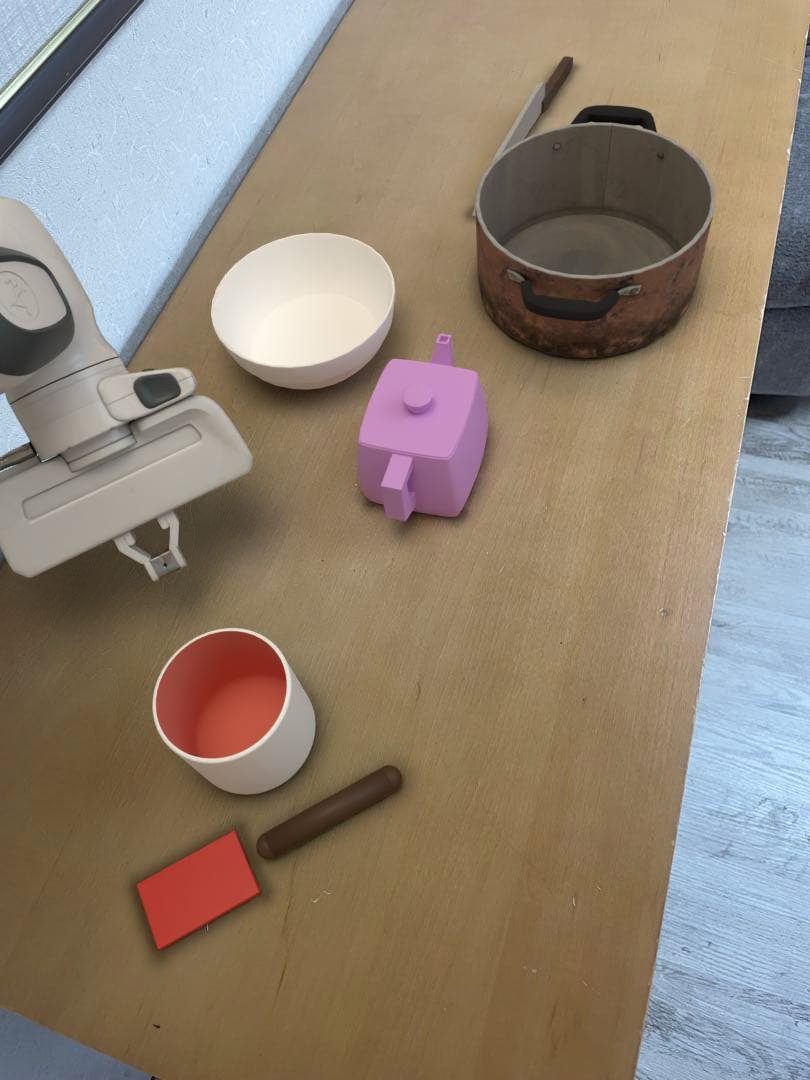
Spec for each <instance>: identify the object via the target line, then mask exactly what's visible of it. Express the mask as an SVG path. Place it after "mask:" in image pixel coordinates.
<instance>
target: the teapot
mask: <svg viewBox="0 0 810 1080" xmlns="http://www.w3.org/2000/svg"><path fill="white" fill-rule="evenodd" d="M452 337H453V336H452V334H445V333H439V334H438V336H437V338H436V341H435V345H434V349H433V353H432V356H431V360H430V362H425V361H418V360H412V359H411V360H410V359H401V358H392V359H391V360H390V361H389V362H388V363H387V364H386V366H385V367H384V369H383V371H382V373H381V375H380V377H379V379H378V381H377V383H376V385H375V387H374V390H373V391H372V394H371V396H370V399H369V402H368V404H367V406H366V407H367V408H366V410H365V413H364V416H363V419H362V422H361V424H360V425H361V426H360V430H359V433H358V441H357V473H358V480H359V486H360V488H361V491H362V493H363V495H364V496H365V497H366V498H367V499H368V501H369V502H372V503H376V504H380V505H383V507H384V513H385V514H384V515H385V518H387V519H393V520H396V521H397V520H398V521H402V522H406V521H407V520H408V518H409V517H410V515H411V514H412V512H416V513H422V514H426V515H433V516H439V517H446V518H456V517H458V515H459V514H460V513H461V512H462V510H463V508H464V507H465V505H466V503H467V501H468V498H469V496H470V495H471V494H470V493H471V491H472V489H473V487H474V484H475V482H476V479H477V477H478V474H479V471H480V468H481V465H482V462H483V457H484V454H485V449H486V443H487V437H488V430H489V414H488V413H489V412H488V405H487V399H486V396H485V395H486V394H485V392H484V389H483V386H482V382H481V380H480V377H479V374H478V372H477V371H476V370H472V369H467V368H462V367H458V366H457V367H456V366H455V365H454V363H455V362H454V351H453V350H454V349H453V338H452Z"/></svg>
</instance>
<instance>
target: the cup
mask: <svg viewBox="0 0 810 1080" xmlns="http://www.w3.org/2000/svg"><path fill="white" fill-rule="evenodd" d="M151 706H152V707H151V709H152V717H153V721H154V724H155V727H156V730H157V732H158V734H159V736H160V738H161V740H162V741H163V743H165V745H166V746H167V747H168V748H169V749H170V750H171V751H173V753H175V754H176V755H177V756H179V757H180V758H181V759H182V760H183V761H184V762H186V763H187V764H188V765H189V766H191V767H192V768H193V769H194V770H195V771H196V772H197V773H198V774H200V775H201V776H202V777H204V779H206V780H207V781H208V782H210V783H211V784H212V785H214V786H215V787H217V788H219V789H220V790H223V791H225V792H229V793H231V794H236V795H256V794H261V793H265V792H268V791H269V792H270V791H271V790H273V789H277V787H279V786H281V785H282V784H285V783H286V782H287V781H289V780H290V779H291V778H292V777H293V776H294V775H296V773H297V772H299V770H300V769H301V768H302V766H303V765H304V764H305V762H306V761H307V759H308V757H309V755H310V752H311V750H312V747H313V745H314V740H315V735H316V715H315V710H314V707H313V704H312V701H311V699H310V697H309V696H308V694H307V692H306V691H305V689H304V688H303V685H302V684H301V682H300V681H299V679H298V677H297V675H296V674H295V672H294V670H293V668H292V667H291V666H290V664H289V662H288V660H287V659H286V657H285V656H284V654H283V652H282V651H281V650H280V648H279V647H278V646H277V645H276V644H275V643H274V642H273V641H272V640H270V639H269V638H267V637H266V636H264V635H263V634H260V633H258V632H256V631H253V630H250V629H245V628H241V627H239V628H238V627H225V628H219V629H213V630H210V631H208V632H205V633H202V634H200V635H198V636H196V637H194V638H192V639H190V640H189V641H187V642H186V643H185V644H184V645H182V646H180V648H178V649H177V650H176V652H174V653H173V655H172V656H171V657H170V658H169V659H168V661H166V663H165V665H164V666H163V667H162V669H161V672H160V673H159V675H158V677H157V680H156V683H155V685H154V690H153V695H152V705H151Z"/></svg>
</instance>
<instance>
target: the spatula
mask: <svg viewBox="0 0 810 1080" xmlns="http://www.w3.org/2000/svg"><path fill="white" fill-rule="evenodd" d="M402 782H403V775H402V772H401V771H400V769H399V768H398V767H397V766H394V765H391V764H389V765H388V764H387V765H384V766H381V767H380V768H378V769H376V770H374V771H373V772H371V773H369V774H367V775H365V776H364V777H361V778H360V779H358V780H356V781H355V782H353V783H351V784H349V785H347V786H346V787H343V788H342V789H340V790H339V791H337V792H335V793H333V794H331V795H329V796H327V797H326V798H324V799H322V800H320V801H318V802H317V803H315V804H314V805H312V806H310V807H308V808H307V809H305V810H303V811H301V812H299V813H297V814H296V815H294V816H292V817H290V818H288V819H287V820H285V821H283V822H281V823H279V824H278V825H276V826H274V827H272V828H271V829H270V828H269V830H267V831H265V832H263V833H262V834H260V836H259V837H258V839H257V840H256V844H255V849H256V853H257V854H258V856H259V857H260V858H261V859H263V860H265V861H273V860H276V859H277V858H279V857H281V856H282V855H284V854H286V853H288V852H290V851H291V850H293V849H295V848H297V847H298V846H301V845H302V844H305V842H308V841H309V840H311V839H313V838H315V837H316V836H318V835H320V834H323V832H325V831H327V830H329V829H331V828H332V827H334V826H336V825H338V824H339V823H341V822H343V821H344V820H347V819H349V818H350V817H352V816H354V815H355V814H357V813H359V812H360V811H363V810H364V809H366V808H368V807H370V806H371V805H373V804H374V803H377V802H378V801H380V800H382V799H383V798H385V797H387V796H389V795H391V794H392V793H395V792H396V791H397V790H399V788H400V787H401V785H402ZM136 887H137V890H138V893H139V897H140V900H141V902H142V905H143V908H144V911H145V914H146V917H147V920H148V924H149V927H150V930H151V933H152V936H153V939H154V942H155V945H156V948H157V950H158V951H162V950H164V949H166V948H168V947H170V946H172V945H173V944H175V943H176V942H178V941H181V939H184V938H186V937H187V936H189V935H191V934H192V933H194V932H196V931H197V930H200V929H201V928H203V927H205V926H206V925H208V924H210V923H212V922H214V921H215V920H217V919H219V918H221V917H222V916H224V915H226V914H227V913H229V912H231V911H233V910H235V909H236V908H238V907H240V906H242V905H244V904H245V903H247V902H248V901H250V900H252V899H254V898H256V897H258V896H259V895H260V894H262V892H261V889H260V886H259V884H258V881H257V879H256V877H255V874H254V871H253V869H252V866H251V864H250V861H249V859H248V856H247V854H246V852H245V850H244V846H243V844H242V842H241V839H240V836H239V834H238V832H237V831H236V830H232V831H230V832H229V833H226V834H224V835H223V836H221V837H220V838H218V839H215V840H214V841H212V842H210V843H209V844H207V845H205V846H203V847H202V848H200V849H198V850H196V851H194V852H192V853H190V854H189V855H187V856H185V857H183V858H181V859H180V860H178V861H176V862H174V863H173V864H170V865H169V866H166V867H165V868H163V869H162V870H160V871H158V872H156V873H154V874H153V875H151V876H149V877H147V878H146V879H144V880H142V881H140V882H138V883H136Z"/></svg>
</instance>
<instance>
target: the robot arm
mask: <svg viewBox="0 0 810 1080" xmlns="http://www.w3.org/2000/svg"><path fill="white" fill-rule="evenodd" d="M95 315H96V314H95V310H94V307H93V303H92V301H91V299H90V298H89V296H88V294H87V291H86V290H85V288H84V286H83V284H82V282H81V280H80V279H79V277H78V275H77V274H76V272H75V270H74V268H73V267H72V264H71V263H70V262H69V260H68V258H67V257H66V256H65V254H64V252H63V250H62V248H60V246H59V244H58V243H57V241H56V240H55V238H54V237H53V236H52V234H51V233H50V231H49V230H48V228H47V227H46V225H44V223H43V222H42V220H40V218H39V217H38V216H37V215H36V213H35V212H34V211H33V210H32V209H31V208H30V207H29V206H28V205H27V204H25V203H24V202H22V201H20V200H18V199H14V198H11V197H5V196H4V197H3V196H0V396H2V395H3V394H4V395H5V398H6V402H7V404H8V406H9V407H10V408H11V411H12V412H13V414H14V416H15V417H16V420H17V421H18V422H19V424H20V426H21V428H22V430H23V431H24V433H25V435H26V437H27V438H28V440H29V441H28V442H26V443H23V444H22V445H20V446H17V447H15V448H13V449H11V450H9V451H8V452H6V453H4V454H3V455H0V550H1V553H2V554H3V556H4V559H6V562H7V564H8V565H9V567H10V568H11V570H12V572H13V573H15V574H17V575H19V576H22V577H25V578H27V579H32V578H34V577H37V576H38V575H40V574H42V573H45V572H46V571H48V570H51V569H53V568H55V567H57V566H59V565H61V564H63V563H66V562H68V561H69V560H71V559H73V558H75V557H77V556H80V555H82V554H85V553H86V552H88V551H90V550H92V549H94V548H97V547H98V546H101V545H103V544H104V543H107V542H109V541H110V540H113V542H114V544H115V546H116V548H117V549H118V551H119V552H120V553H122V554H123V555H125V556H127V557H128V558H130V559H132V560H134V561H135V562H137V563H139V564H141V565H143V566H144V568H145V570H146V571H147V574H148V575H149V577H150V578H151V580H152V582H153V583H154V582H157V581H159V580H161V579H164V578H165V577H166V576H168V575H171V574H173V573H175V572H177V571H179V570H182V569H183V568H185V567H187V566H188V562H187V560H186V557H185V556H184V554H183V553H182V551H181V549H180V546H179V531H180V518H179V515H178V514H177V512H176V510H175V509H178V508H180V507H182V506H184V505H186V504H188V503H190V502H192V501H194V500H196V499H198V498H200V497H202V496H204V495H206V494H209V493H211V492H213V491H215V490H216V489H219V488H221V487H223V486H225V485H227V484H229V483H232V482H234V481H235V480H238V479H240V478H242V477H244V476H246V475H248V474H249V473H251V471H252V468H253V465H254V456H253V454H252V452H251V450H250V449H249V447H248V445H247V443H246V442H245V440H244V438H243V437H242V436H241V434H240V432H239V431H238V429H237V428H236V426H235V424H234V423H233V421H232V420H231V419H230V418H229V416H228V415H227V414H226V412H225V411H224V410H223V408H222V407H221V406H220V405H219V404H218V403H217V402H216V401H214V400H213V399H211V398H209V397H208V396H206V395H203V394H194V393H196V391H197V389H198V382H197V379H196V377H195V375H194V372H192V370H191V369H189V368H187V367H184V366H182V367H181V366H178V367H177V366H176V367H169V368H161V369H155V368H152V367H151V368H144V369H141V371H137V372H136V371H135V372H130V370H128V369H127V368H126V366H125V364H124V362H123V360H122V358H121V357H120V355H119V353H118V351H117V350H116V349H115V348H114V347H113V345H112V344H110V343H109V341H107V339H106V338H105V336H104V335H103V333H102V331H101V330H100V328H99V325H98V322H97V319H96V316H95ZM155 519H156V521H157V522H158V524H159V525H160V527H161V530H167V529H168V528H169V540H168V541H169V542H168V543H169V544H168V547H166V548H164V549H163V550H161V551H159V552H157V553H154V554H152V555H151V554H150V553H148V552H146V551H145V550H143V549H142V548H140V547H139V546H137V545H135V544H136V540H137V536H136V534H135V532H134V531H133V530H134V529H136V528H138V527H140V526H143V525H144V524H146V523H148V522H151V521H152V520H155Z"/></svg>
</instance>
